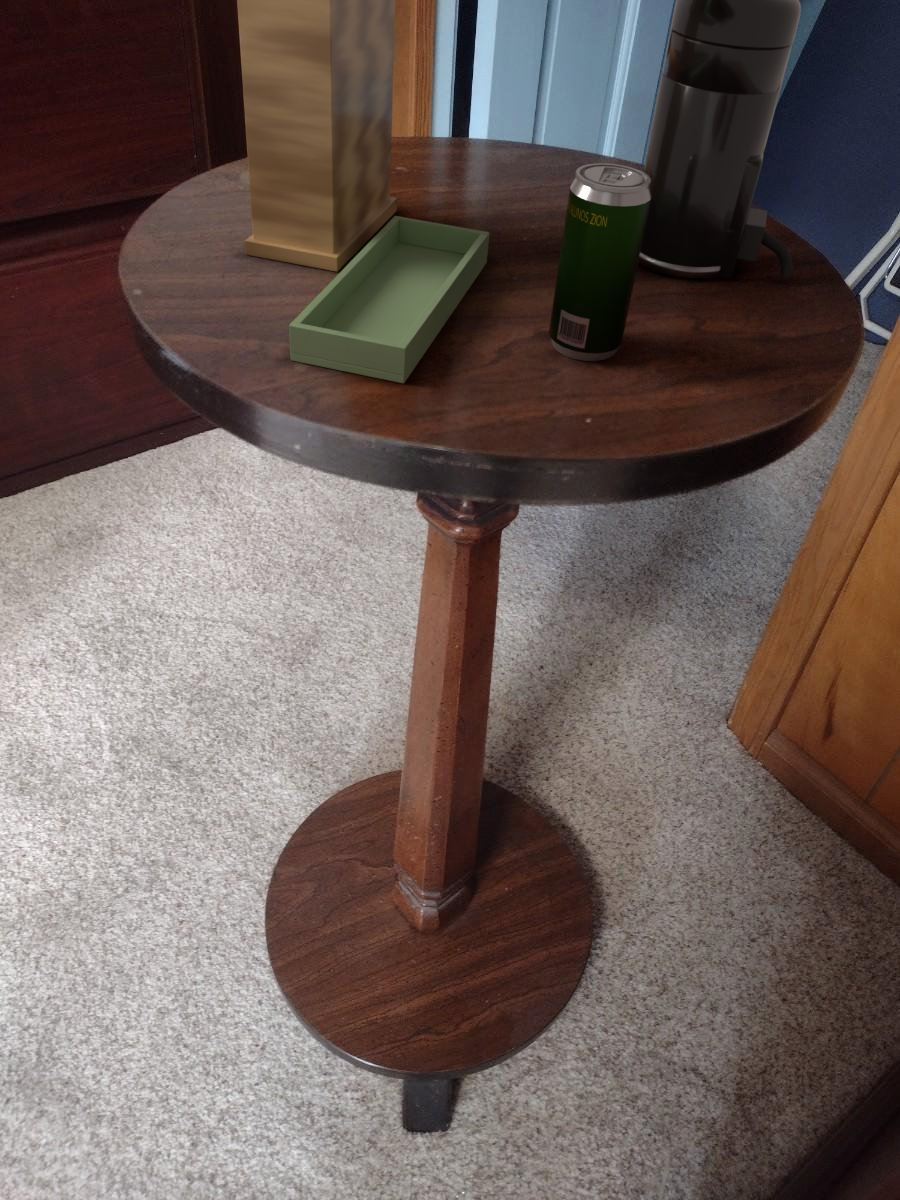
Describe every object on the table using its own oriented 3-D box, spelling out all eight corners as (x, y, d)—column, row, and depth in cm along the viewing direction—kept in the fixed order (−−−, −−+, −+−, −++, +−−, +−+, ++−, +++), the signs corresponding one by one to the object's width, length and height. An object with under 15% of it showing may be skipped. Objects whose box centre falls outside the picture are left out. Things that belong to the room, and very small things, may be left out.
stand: (315, 196, 90) (305, -226, 70) (396, 211, 89) (410, -216, 69) (245, 254, 79) (210, -227, 59) (337, 272, 78) (332, -215, 58)
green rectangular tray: (394, 246, 83) (394, 215, 81) (486, 262, 81) (489, 232, 79) (290, 360, 66) (288, 325, 65) (404, 384, 65) (405, 348, 63)
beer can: (608, 370, 68) (642, 196, 60) (537, 351, 70) (561, 179, 62) (628, 339, 72) (663, 172, 64) (560, 322, 74) (586, 157, 66)
